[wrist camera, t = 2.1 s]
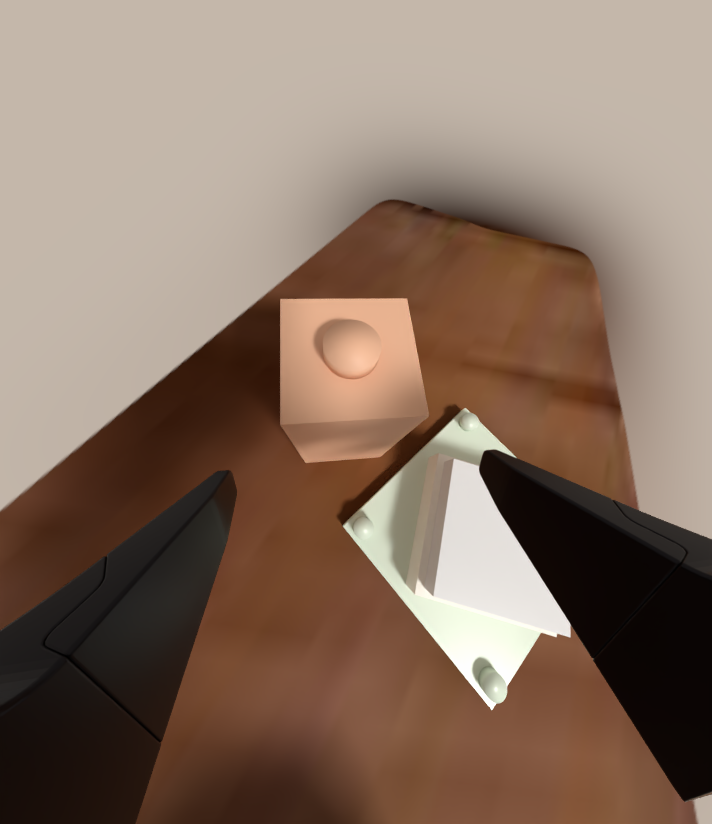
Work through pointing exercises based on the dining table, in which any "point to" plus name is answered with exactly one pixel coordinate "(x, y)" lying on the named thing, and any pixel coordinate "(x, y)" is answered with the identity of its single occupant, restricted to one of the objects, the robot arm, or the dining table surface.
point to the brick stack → (475, 553)
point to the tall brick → (348, 377)
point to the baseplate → (391, 551)
